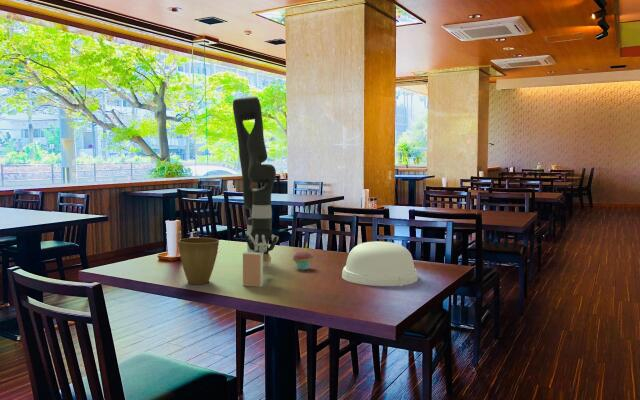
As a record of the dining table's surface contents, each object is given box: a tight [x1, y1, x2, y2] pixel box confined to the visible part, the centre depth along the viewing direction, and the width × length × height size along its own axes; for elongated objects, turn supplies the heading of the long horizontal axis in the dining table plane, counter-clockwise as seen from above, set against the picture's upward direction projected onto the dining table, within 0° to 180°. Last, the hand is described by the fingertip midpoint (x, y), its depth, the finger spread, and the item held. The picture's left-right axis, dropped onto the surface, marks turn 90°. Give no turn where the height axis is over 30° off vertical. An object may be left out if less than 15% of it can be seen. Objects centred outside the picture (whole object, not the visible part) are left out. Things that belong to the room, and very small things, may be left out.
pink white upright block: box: [242, 251, 264, 287], centre depth 191 cm, size 3×7×12 cm, turn 77°
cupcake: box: [292, 241, 314, 271], centre depth 222 cm, size 9×8×12 cm
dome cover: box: [341, 240, 419, 287], centre depth 207 cm, size 32×30×14 cm
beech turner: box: [263, 254, 272, 268], centre depth 201 cm, size 14×9×4 cm, turn 167°
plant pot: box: [177, 237, 220, 285], centre depth 195 cm, size 15×15×16 cm
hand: (261, 261), depth 200 cm, fingers closed on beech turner, 2 cm apart
